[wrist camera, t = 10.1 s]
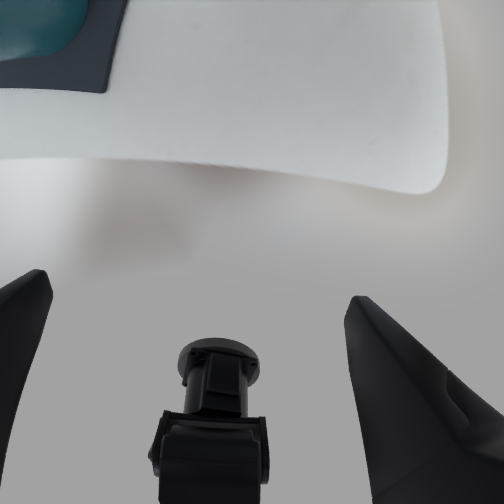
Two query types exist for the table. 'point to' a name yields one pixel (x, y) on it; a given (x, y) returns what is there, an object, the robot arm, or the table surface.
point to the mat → (73, 56)
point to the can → (38, 26)
